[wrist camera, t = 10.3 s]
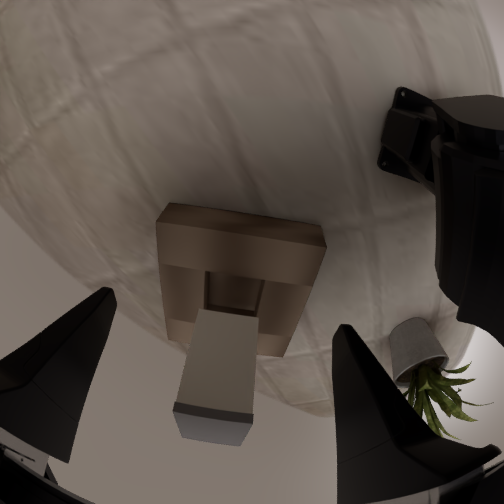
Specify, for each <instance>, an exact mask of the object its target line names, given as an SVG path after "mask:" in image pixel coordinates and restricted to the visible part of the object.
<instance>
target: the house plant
mask: <svg viewBox="0 0 504 504" xmlns="http://www.w3.org/2000/svg"><path fill="white" fill-rule="evenodd" d="M390 347H391V357H392V368H393V382H394V383H395V385H396V386H397V387H398V388H408V391H406V392H405V393H403V396H404V397H405V398H406V396H407V394H408V393H409V396H408V402H409V404H410V405H411V406H412V407H413V405H414V407H413V408H414V410H415V411H416V412H417V413H418V414H419V415H420V417H421V418H422V415H423V409H424V412H425V415H426V418H427V422H428V426H429V427H430V428H431V429H432V430H433V431H434V432H435V433H436V434H437V435H439V436H441V437H443V435H442V434H441V432H440V430H439V428H440V429H441V430H442V431H443V433H445V434H446V435H448V436H450V437H453V438H456V437H454V436H452V435H450V434H449V433H447V432H446V431H445V429H444V428H443V426H442V424H441V423H440V421H439V419H438V418H437V415H436V413H435V411H434V408H433V406H432V404H431V401H430V398H431V399H432V400H433V401H435V402H437V403H438V404H439V405H440V407H441V409H442V410H443V411H444V412H445V413H446V414H447V416H448V417H450V416H451V414H452V415H453V416H454V417H456V418H458V419H461V420H466V421H470V422H472V421H477V420H474V419H472V418H471V417H468V415H466V414H465V413H464V412H462V408H461V406H462V402H463V403H466V404H469V405H474V406H479V405H475V404H472V403H468V402H464V401H462V400H461V398H460V396H459V395H458V394H457V392H456V391H455V390H453V388H451V386H454V385H462V384H466V383H469V382H471V381H474V380H475V379H468V380H466V379H449V378H446V377H443V376H442V374H441V372H442V371H443V370H444V371H446V372H448V373H462V372H464V371H465V370H466V369H467V368H468V367H469V365H470V364H471V363H470V364H468V365H466V366H464V367H462V368H459V369H456V370H445V367H446V366H447V364H448V363H449V357H448V356H447V354H446V352H445V351H444V349H443V348H442V346H441V344H440V343H439V341H438V340H437V338H436V337H435V335H434V333H433V332H432V330H431V329H430V327H429V326H428V324H427V323H426V321H425V320H424V319H422V318H413V319H409V320H407V321H405V322H403V323H401V324H400V325H398V326H397V327H396V328H394V330H393V331H392V332H391V334H390ZM415 386H416V392H415ZM409 387H410V388H409ZM442 391H443V392H444V393H445V394H446V395H447V396H446V395H445V394H444V393H443V392H442ZM459 391H461V389H459V390H458V392H459ZM414 394H415V398H416V400H415V398H414ZM429 396H430V398H429ZM448 396H449V397H450V398H451V399H452V400H453V401H452V400H451V399H449V398H448ZM413 400H414V401H415V404H414V402H413ZM480 406H481V405H480ZM443 438H444V437H443ZM456 439H458V438H456Z"/></svg>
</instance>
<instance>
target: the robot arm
mask: <svg viewBox="0 0 504 504" xmlns="http://www.w3.org/2000/svg"><path fill="white" fill-rule="evenodd" d="M402 91H404V92H405V96H404V97H403V96H402V95H401V92H402ZM381 142H382V148H381V151H380V155H379V158H378V162H377V164H378V167H379V168H380V169H381V170H383V171H386V172H389V173H392V174H396V175H399V176H402V177H405V178H408V179H411V180H414V181H417V182H419V183H421V184H423V185H424V186H425V187H426V188H427V189H428V190H429V191H430V192H432V193H433V194H434V195H435V199H436V252H435V268H436V272H437V276H438V279H439V287H440V288H441V290H442V291H443V292H444V294H445V295H446V296H447V297H448V298H449V299H450V300H451V301H452V302H453V303H455V304H456V305H457V306H459V308H458V312H457V316H456V319H457V320H458V321H460V322H464V323H469V324H473V325H476V326H477V327H480V328H481V329H483V330H485V331H487V332H488V333H490V334H491V335H492V336H493V337H494V338H496V340H497V341H498V342H499V343H500V344H501V345H502V346H503V347H504V98H503V97H498V96H493V95H475V96H463V97H454V98H445V99H437V100H431V99H429V98H427V97H425V96H423V95H421V94H419V93H417V92H414V91H412V90H410V89H408V88H405V87H399V88H397V90H396V94H395V98H394V102H393V106H392V109H390V110H389V112H388V116H387V120H386V124H385V128H384V131H383V135H382V139H381ZM384 161H386V162H387V163H386V165H385V166H382V163H383V162H384ZM116 308H117V301H116V298H115V294H114V291H113V289H112V288H109V287H102V288H100V289H99V290H98V291H96V292H95V293H93V294H92V295H90V296H89V297H88V298H86V299H85V300H83V301H82V302H81V303H79V304H78V305H76V306H75V307H74V308H72V309H71V310H70V311H68V312H67V313H65V314H64V315H63V316H62V317H60V318H59V319H57V320H56V321H55V322H53V323H52V324H51V325H49V326H48V327H47V328H45V329H44V330H43V331H42V333H41V332H40V333H39V334H37V335H36V336H35V337H34V338H32V339H31V340H29V341H28V342H27V343H25V344H24V345H22V346H21V347H20V348H18V349H16V350H15V351H14V352H12V353H10V354H9V355H7V356H6V357H4V358H3V359H1V360H0V504H95V503H92V502H90V501H88V500H85V499H84V498H81V497H79V496H77V495H75V494H73V493H71V492H69V491H67V490H66V489H64V488H62V487H60V486H58V483H57V481H56V479H55V477H54V475H53V473H52V471H51V469H50V467H49V465H48V463H47V461H48V458H49V455H50V456H52V457H54V458H56V459H59V460H61V461H63V462H65V463H69V460H70V455H71V451H72V447H73V442H74V439H75V435H76V431H77V428H78V422H79V420H80V417H81V413H82V410H83V406H84V403H85V400H86V397H87V394H88V391H89V388H90V385H91V382H92V379H93V376H94V373H95V371H96V368H97V365H98V362H99V360H100V357H101V354H102V352H103V349H104V346H105V344H106V341H107V338H108V335H109V331H110V328H111V325H112V321H113V318H114V314H115V311H116ZM332 382H333V394H334V407H335V423H336V442H337V464H338V465H337V504H504V460H502V461H500V462H498V463H497V464H495V465H493V466H491V467H489V468H486V469H484V464H485V463H487V462H489V461H490V460H492V459H494V458H495V457H497V456H498V455H500V454H501V453H502V451H501V450H500V449H499V448H498V447H497V446H495V445H492V444H489V445H488V446H486V447H484V448H475V447H471V446H467V445H464V444H461V443H458V442H455V441H452V440H448V439H446V438H443V437H441V436H439V435H437V434H436V433H435V432H434V431H433V430H432V429H431V428H430V427H429V426H428V425H427V424H426V422H425V421H424V420H423V419H422V418H421V417H420V415H419V414H418V413H417V412H416V411H415V410H414V408H413V407H412V406H411V405H410V404H409V402H408V401H407V400H406V398H405V397H404V396H403V394H402V393H401V391H400V390H399V389H398V387H397V386H396V385H395V383H394V382H393V380H392V379H391V378H390V376H389V375H388V374H387V372H386V371H385V369H384V368H383V367H382V365H381V364H380V363H379V361H378V360H377V359H376V357H375V356H374V355H373V353H372V352H371V351H370V349H369V348H368V347H367V345H366V344H365V343H364V341H363V340H362V339H361V337H360V336H359V335H358V333H357V332H356V331H355V329H354V328H353V327H352V326H351V325H349V324H341V325H340V326H339V328H338V329H337V331H336V333H335V334H334V336H333V340H332Z"/></svg>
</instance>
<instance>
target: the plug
mask: <svg viewBox="0 0 504 504" xmlns="http://www.w3.org/2000/svg"><path fill="white" fill-rule="evenodd" d="M258 322H259V318H256V317H249V316H242V315H235V314H229V313H222V312H216V311H210V310H204V309H199V311H198V315H197V318H196V322H195V326H194V330H193V334H192V338H191V341H190V345H189V349H188V353H187V357H186V361H185V366H184V370H183V374H182V378H181V382H180V387H179V391H178V395H177V399H176V402H175V403H174V407H173V414H174V417H175V420H176V422H177V425H178V428H179V431H180V433H181V436H182V437H183V438H187V439H193V440H198V441H204V442H210V443H217V444H224V445H232V446H241V444H242V442H243V440H244V439H245V437H246V435H247V434H248V432H249V430H250V428H251V426H252V424H253V415H254V414H252V413H253V399H254V384H255V369H256V354H257V338H258Z"/></svg>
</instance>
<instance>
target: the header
mask: <svg viewBox="0 0 504 504" xmlns="http://www.w3.org/2000/svg"><path fill="white" fill-rule="evenodd" d="M156 236H157V250H158V262H159V273H160V282H161V291H162V300H163V308H164V315H165V322H166V329H167V335H168V340H172V341H177V342H181V343H187V344H190V341H191V338H192V334H193V330H194V326H195V322H196V318H197V315H198V311H199V309H204V310H210V311H216V312H222V313H229V314H235V315H242V316H249V317H256V318H259V322H258V338H257V355H265V356H275V357H283V356H284V354H285V351H286V349H287V347H288V345H289V342H290V340H291V338H292V335H293V333H294V331H295V328H296V326H297V324H298V321H299V319H300V317H301V314H302V312H303V309H304V307H305V304H306V302H307V299H308V297H309V294H310V292H311V289H312V287H313V284H314V281H315V279H316V276H317V274H318V271H319V268H320V266H321V263H322V260H323V257H324V255H325V252H326V249H327V246H326V243H325V239H324V236H323V232H322V229H321V226H318V225H313V224H307V223H301V222H296V221H290V220H284V219H278V218H272V217H266V216H259V215H253V214H247V213H240V212H233V211H227V210H220V209H213V208H205V207H198V206H191V205H183V204H175V203H169V204H168V205H167V206H166V208H165V209H164V211H163V212H162V213H161V215H160V216H159V218H158V219H157V220H156Z"/></svg>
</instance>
